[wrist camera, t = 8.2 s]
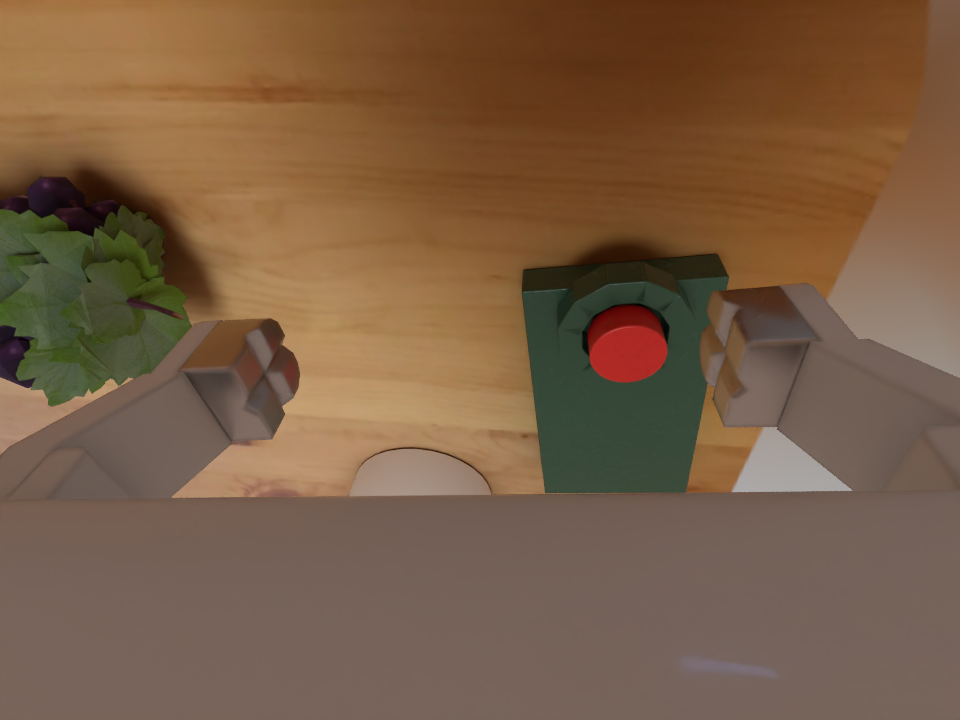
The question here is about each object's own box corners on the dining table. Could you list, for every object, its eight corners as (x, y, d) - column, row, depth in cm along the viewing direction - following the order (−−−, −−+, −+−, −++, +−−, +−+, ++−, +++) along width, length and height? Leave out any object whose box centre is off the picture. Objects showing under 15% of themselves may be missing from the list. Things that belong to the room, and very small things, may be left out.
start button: (586, 306, 24) (589, 328, 23) (664, 301, 23) (671, 323, 22) (587, 361, 26) (589, 384, 25) (658, 358, 26) (664, 381, 24)
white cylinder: (343, 442, 39) (283, 597, 30) (490, 452, 38) (474, 615, 29) (369, 522, 47) (327, 664, 38) (492, 531, 46) (479, 680, 37)
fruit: (15, 148, 29) (221, 180, 25) (85, 312, 34) (262, 359, 30) (-257, 184, 20) (-14, 240, 16) (-107, 391, 26) (101, 471, 22)
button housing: (520, 249, 26) (517, 290, 23) (721, 231, 25) (745, 274, 22) (545, 469, 39) (545, 514, 36) (679, 467, 37) (691, 515, 34)
